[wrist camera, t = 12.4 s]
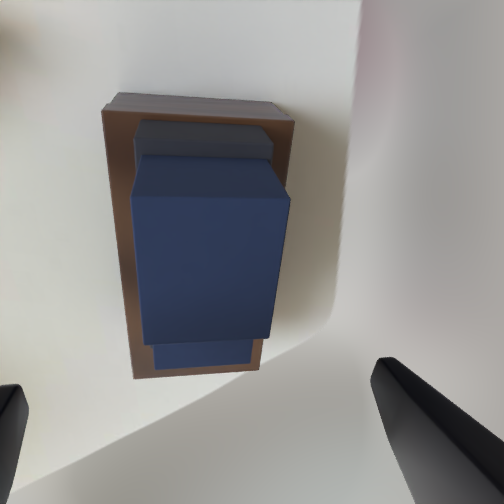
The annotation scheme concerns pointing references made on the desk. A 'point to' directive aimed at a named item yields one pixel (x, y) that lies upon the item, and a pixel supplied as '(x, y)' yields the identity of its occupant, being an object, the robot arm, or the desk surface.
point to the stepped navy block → (206, 240)
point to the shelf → (122, 179)
